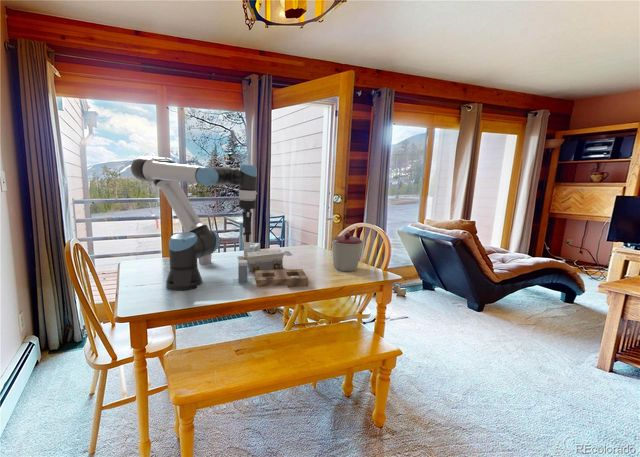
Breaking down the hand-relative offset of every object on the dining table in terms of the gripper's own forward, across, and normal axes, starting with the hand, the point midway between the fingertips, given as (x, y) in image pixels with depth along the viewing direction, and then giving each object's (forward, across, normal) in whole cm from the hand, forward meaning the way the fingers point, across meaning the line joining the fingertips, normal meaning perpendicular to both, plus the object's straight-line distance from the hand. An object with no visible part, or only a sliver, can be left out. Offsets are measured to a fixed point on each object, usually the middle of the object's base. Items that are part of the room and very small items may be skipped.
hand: (246, 244), depth 151 cm
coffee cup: (+20, +37, +20) cm, 46 cm away
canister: (+18, +15, -56) cm, 61 cm away
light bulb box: (+19, +33, -6) cm, 39 cm away
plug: (+18, -1, +1) cm, 18 cm away
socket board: (+18, -1, -17) cm, 25 cm away
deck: (+19, -1, +1) cm, 19 cm away
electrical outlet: (+19, +19, -12) cm, 29 cm away
